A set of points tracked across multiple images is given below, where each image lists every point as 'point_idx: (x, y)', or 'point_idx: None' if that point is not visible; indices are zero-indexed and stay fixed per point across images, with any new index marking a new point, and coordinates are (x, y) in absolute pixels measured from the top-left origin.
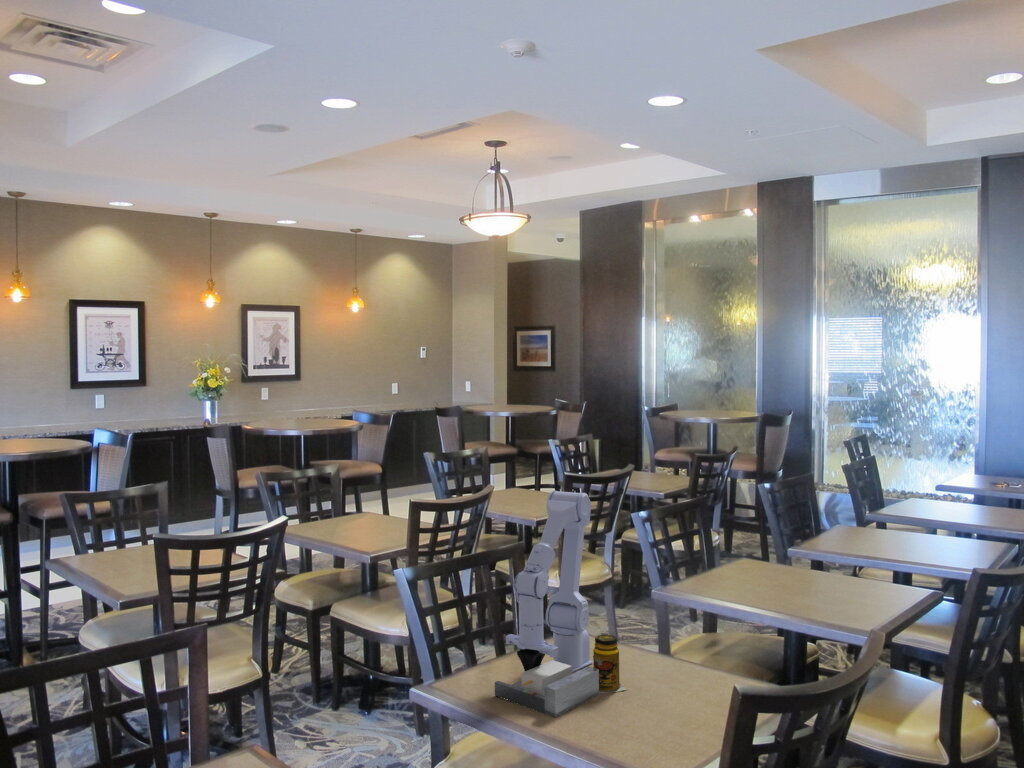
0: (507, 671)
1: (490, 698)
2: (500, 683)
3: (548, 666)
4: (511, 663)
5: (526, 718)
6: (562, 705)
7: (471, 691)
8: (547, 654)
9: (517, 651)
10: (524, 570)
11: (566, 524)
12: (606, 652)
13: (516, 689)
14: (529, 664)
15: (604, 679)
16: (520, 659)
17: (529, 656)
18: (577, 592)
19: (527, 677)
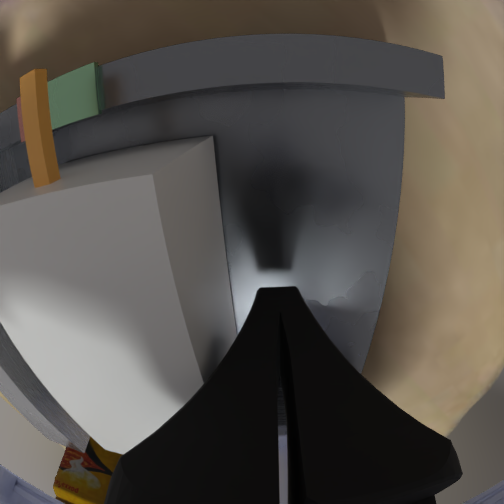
0: (473, 330)
1: (383, 24)
2: (391, 56)
3: (155, 428)
4: (475, 369)
5: (41, 22)
6: None
7: (501, 65)
8: (46, 496)
9: (458, 478)
10: None
11: None
12: (55, 492)
13: (163, 48)
14: (229, 395)
15: None
16: (386, 406)
17: (133, 495)
18: None
19: (76, 181)
